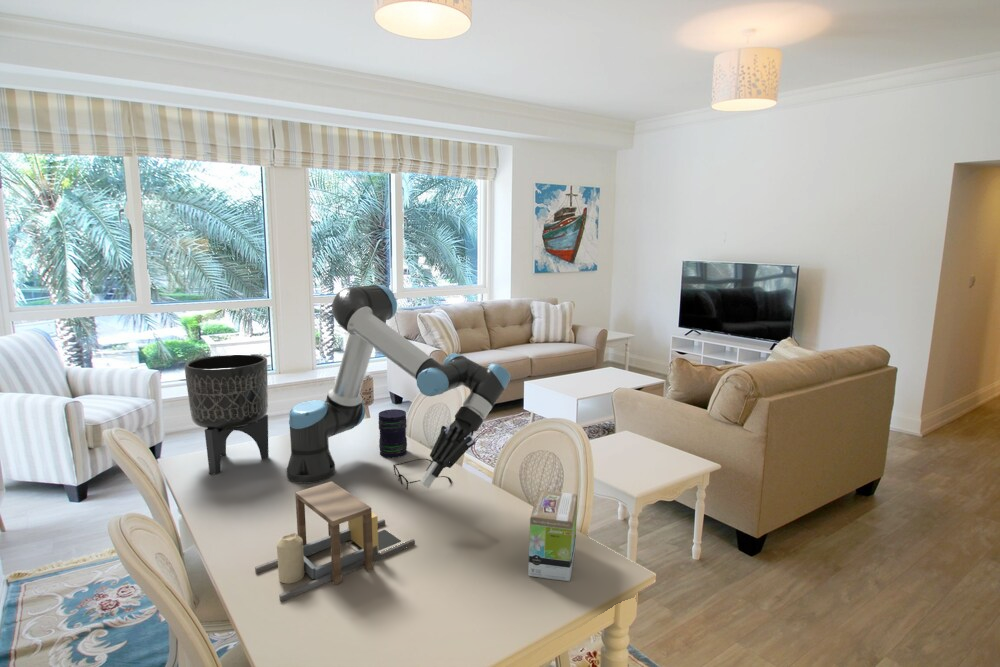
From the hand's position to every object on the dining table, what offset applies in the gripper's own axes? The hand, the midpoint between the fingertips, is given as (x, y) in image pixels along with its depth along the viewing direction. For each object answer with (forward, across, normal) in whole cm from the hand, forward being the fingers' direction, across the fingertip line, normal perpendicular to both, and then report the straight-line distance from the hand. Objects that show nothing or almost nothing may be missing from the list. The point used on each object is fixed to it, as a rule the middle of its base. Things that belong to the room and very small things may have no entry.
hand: (424, 485), depth 151 cm
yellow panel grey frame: (+26, 0, +10) cm, 28 cm away
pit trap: (+18, 0, +2) cm, 18 cm away
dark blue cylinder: (-7, +51, -24) cm, 56 cm away
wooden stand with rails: (+26, 0, +10) cm, 28 cm away
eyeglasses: (-3, +26, -21) cm, 33 cm away
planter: (+26, +80, +8) cm, 84 cm away
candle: (+34, 0, +18) cm, 38 cm away
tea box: (-1, -36, -17) cm, 39 cm away
